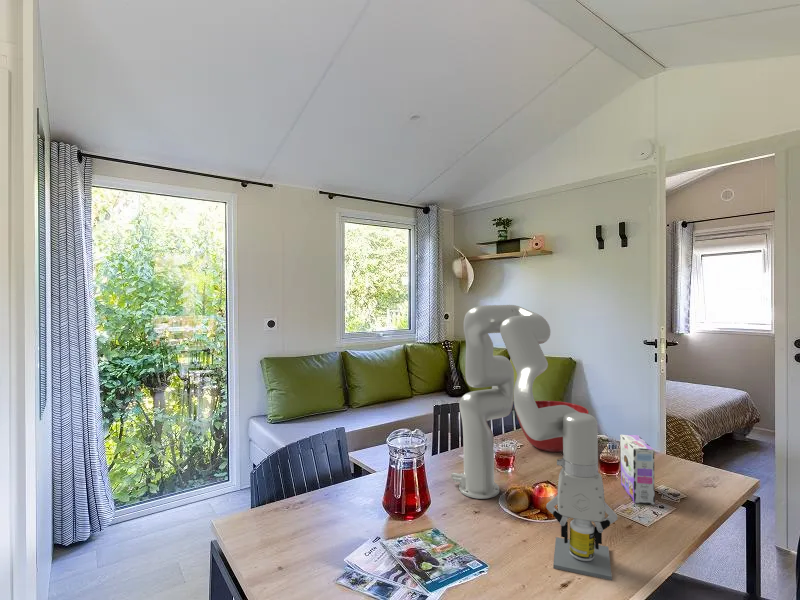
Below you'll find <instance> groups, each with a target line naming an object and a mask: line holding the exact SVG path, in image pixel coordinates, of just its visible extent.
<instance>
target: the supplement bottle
mask: <svg viewBox="0 0 800 600" xmlns="http://www.w3.org/2000/svg"><path fill="white" fill-rule="evenodd" d="M595 527H596V526H595V524H594V523H593V522H592V521H586V520H580V519H574V518H572V520H571V521H570V523H569V539H570V554H571V555H572V556H573V557H574V558H576V559H578V560H582V561H591V560H592V559H593V558H594V546H595Z"/></svg>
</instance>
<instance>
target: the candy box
mask: <svg viewBox="0 0 800 600" xmlns="http://www.w3.org/2000/svg"><path fill="white" fill-rule="evenodd" d="M619 440H620V441H619V444H620V445H619V446H620V447H619V448H620V449H619V450H620V451H619V452H620V485H621V486H622V488H623V490H625V492H626V494H627V495H628V496H629V498H630V499H631V500H632V502H633V503H634V504H642V505H643V504H644V505H653V506H654V505H655V503H656V501H655V498H656V497H655V449H654V448H653V447H652V446H651V445H649V444H648V443H647V442H646V441H645V440H644V439H643V438H642V437H641V436H640V435H636V434H620V435H619Z"/></svg>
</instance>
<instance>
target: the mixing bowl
mask: <svg viewBox="0 0 800 600" xmlns="http://www.w3.org/2000/svg"><path fill="white" fill-rule="evenodd" d="M535 402H536V405H537V407H538V408H544V407H549V406H556V405H566V406H569V407H571V408H573V409H574V410H576V411H578V412H580V413H586V414H590V413H589V410H588V409H587V408H586V407H585V406H582V405H579V404H576V403H571V402H566V401H558V400H557V401H556V400H535ZM514 411H515V413H516V416H517V417H516V418H517V420H518V423H519V426H520V428H521V430H522V432H523V434H524V436H525V438H526V440H527V441H528V442H529V443H530V444H531V445H532V446H534V448H537V449H538V450H541V451H545V452H548V453H549V452H550V453H563V437H556V438H552V439H547V440H542V441H537V440H534V439H532V438H530V437H529V436H528V435H527V433H526V432H525V430H524V429H523V427H522V425H521V422H520V420H519V417H518V415H517V412H516V410H515V409H514Z"/></svg>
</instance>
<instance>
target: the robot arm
mask: <svg viewBox="0 0 800 600" xmlns="http://www.w3.org/2000/svg"><path fill="white" fill-rule="evenodd" d="M489 334H500V336H501V339H502V341H503V343H504V346H505V349H506V351H507V353H508V355H509V358H510V359H509V358H508V357H506V356H504V355H494V343H493V340H492V338H491V337H490V335H489ZM463 335H464V337H465V366H464V367H465V368H464V369H465V370H464V371H465V374H464V375H465V377H464V378H465V381H466V384H467V385H468V386H469V387H471V388H475V389H476V388H477V389H478V388H488V387H489V388H490V389H489V388H488V389H480V390H473V391H472V390H471V391H469V392H466V393H465V394H463V395H462V396H461V397H460V400H459V404H458V405H459V412H460V417H461V423H462V436H463V438H462V441H463V442H462V443H463V445H462V446H463V450H462V451H463V452H462V453H463V472H460V473H457V472H451V475H450V477H451V479H452V482H456V483H459V486H458V488H459V492H460V493H461V494H462V495H464V496H466V497H468V498H472V499H479V500H480V499H481V500H485V499H491V498H494V497H497V496H498V495H499V493H500V486H499V485H498V484H497V483H496V482H495V458H494V457H495V451H494V449H495V447H494V446H495V445H494V442H495V441H494V434H493V431H492V429H491V428H490V426H489V424H488V421H491V420H497V419H501V418H502V419H503V418H505V417H507V416H509V415H510V414H511V413H512V411H513V405H514V411H515V410H516V411H515V413H516V412H517V414H516V416H517V415H518V417H519V420H520V422H521V425H522V427H523V429H524V430H525V432H526V433H527V435H528V436H529V437H530V438H532V439H534V440H537V441H542V440H547V439H552V438H556V437H563V452H562V453H563V454H562V458H560V459H556V466H560V467H561V469H560V471H559V474H558V484H557V495H556V496H554V497H553V498H552V499H551V500H550V501H548V502H547V503H546V504H545V505H546V506H545V507H546V509H547V511H549V513H550V514H552V516H553V518H555V519H556V520H557V522H558V523H559V526H560V532H561V534H560V535H561V536H560V538H564V543H568V538H569V532H568V531H569V530H568V529H569V525H568V524H569V523H568V520H569V518H570V519H580V520H586V521H592V522H591V523H593V522H594V523H593V524H594V527H595V548H596V549H598V550H599V545H602V544H603V536H602V534H603V532H604V530H606V529H607V528H608V527H610V526H611V525H612V524H614V523H615V522H616V521H618V519H619V518H618V514H617V513H616V512H615V511H614V510H613V509H612V508H611V507H610V506H609V505H608V503H606V501H605V490H604V487H605V486H604V483H603V478H602V474H600V473H599V454H598V453H599V451H598V450H599V449H598V448H599V447H598V443H599V441H598V439H599V438H598V437H599V434H598V421H597V418H596V417H595V416H593V415H591V414H590V413H588V414H586V413H580V412H578V411H576V410H574V409H573V408H571V407H569V406H566V405H556V406H549V407H544V408H538V407H537V405H536V402H535V401H536V400H535V397H534V393H533V386H534V385H533V384H534V382H535V380H536V378H537V377H538V376H540V375H541V374H544V372H545V371H546V370H547V369H548V367H549V363H548V360H547V357H546V356H545V354H544V351H543V349H542V347H541V346H540V345H541V344H544V343H546V342H548V340H549V339H550V337H551V326H550V324H549V322H548V321H547V320H546V319H545V318H544V316H542V315H540V314H538V313H536V312H533V311H532V310H529V309H526V308H524V307H522V306H519V305H515V304H497V305H496V304H492V305H491V304H490V305H489V304H488V305H486V304H485V305H479V306H478V305H477V306H475V307H472V308H470V309H469V310H468V311H467V312H466V313H465V315H464V319H463ZM514 369H515V371H514ZM515 372H516V380H515ZM518 417H517V418H518ZM519 420H518V421H519ZM555 506H557V508H556V507H555ZM606 514H607V517H606Z"/></svg>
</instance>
